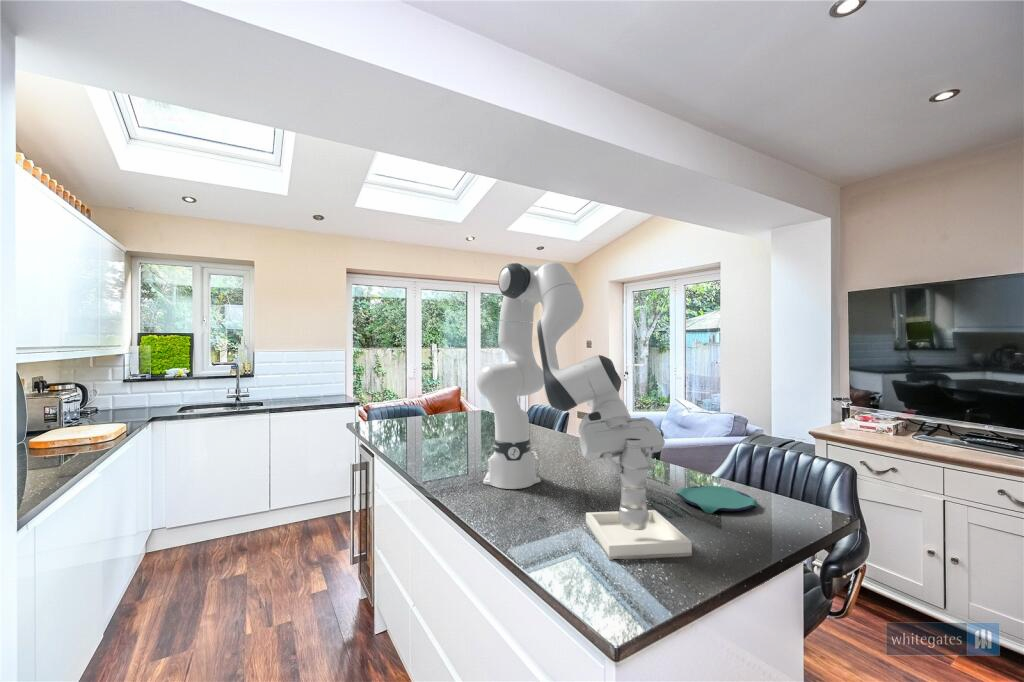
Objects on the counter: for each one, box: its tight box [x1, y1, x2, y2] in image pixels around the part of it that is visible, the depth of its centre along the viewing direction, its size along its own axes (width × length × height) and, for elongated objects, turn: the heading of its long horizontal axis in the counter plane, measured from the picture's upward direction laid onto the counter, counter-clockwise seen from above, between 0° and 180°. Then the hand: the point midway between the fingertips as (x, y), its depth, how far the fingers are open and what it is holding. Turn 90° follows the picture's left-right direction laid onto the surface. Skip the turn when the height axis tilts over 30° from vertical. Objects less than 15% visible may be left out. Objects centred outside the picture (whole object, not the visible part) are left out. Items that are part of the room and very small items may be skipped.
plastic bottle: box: [617, 438, 649, 530], centre depth 98 cm, size 6×7×20 cm
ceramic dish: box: [585, 509, 693, 561], centre depth 99 cm, size 18×18×3 cm
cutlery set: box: [647, 484, 758, 518], centre depth 122 cm, size 20×30×2 cm, turn 101°
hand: (634, 470), depth 98 cm, fingers closed on plastic bottle, 6 cm apart
